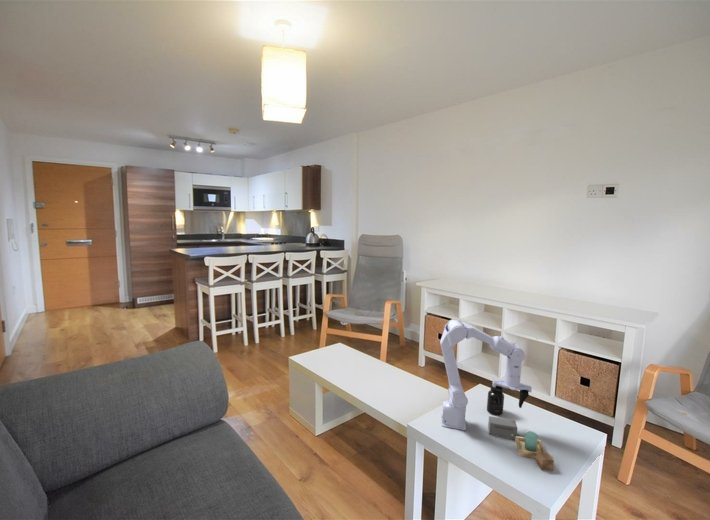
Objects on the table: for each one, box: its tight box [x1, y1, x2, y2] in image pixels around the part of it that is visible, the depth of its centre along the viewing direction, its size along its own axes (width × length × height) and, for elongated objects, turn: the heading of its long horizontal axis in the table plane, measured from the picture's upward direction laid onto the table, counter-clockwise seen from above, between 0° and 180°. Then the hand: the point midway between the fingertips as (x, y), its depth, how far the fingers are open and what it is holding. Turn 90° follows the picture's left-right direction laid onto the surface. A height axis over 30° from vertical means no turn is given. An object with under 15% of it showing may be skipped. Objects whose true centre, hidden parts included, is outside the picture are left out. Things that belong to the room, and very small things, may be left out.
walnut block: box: [535, 451, 555, 471], centre depth 125 cm, size 4×4×4 cm
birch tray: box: [514, 435, 547, 460], centre depth 133 cm, size 9×9×2 cm
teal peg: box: [524, 431, 539, 452], centre depth 133 cm, size 4×4×6 cm
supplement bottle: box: [486, 384, 505, 417], centre depth 158 cm, size 7×7×12 cm
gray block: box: [487, 415, 518, 440], centre depth 143 cm, size 10×5×5 cm, turn 75°
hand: (509, 405), depth 146 cm, fingers open, 7 cm apart
